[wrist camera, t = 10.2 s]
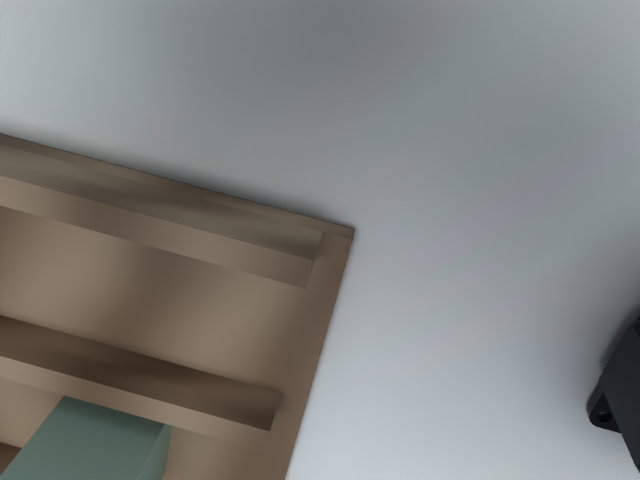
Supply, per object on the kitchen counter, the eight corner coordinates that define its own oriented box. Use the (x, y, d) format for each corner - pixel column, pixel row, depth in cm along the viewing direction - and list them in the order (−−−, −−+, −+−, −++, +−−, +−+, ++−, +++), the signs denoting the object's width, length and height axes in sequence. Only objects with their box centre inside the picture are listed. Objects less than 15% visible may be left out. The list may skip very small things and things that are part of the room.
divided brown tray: (355, 229, 19) (346, 269, 17) (272, 518, 26) (257, 577, 24) (-43, 122, 20) (-109, 145, 17) (-22, 435, 27) (-67, 484, 24)
